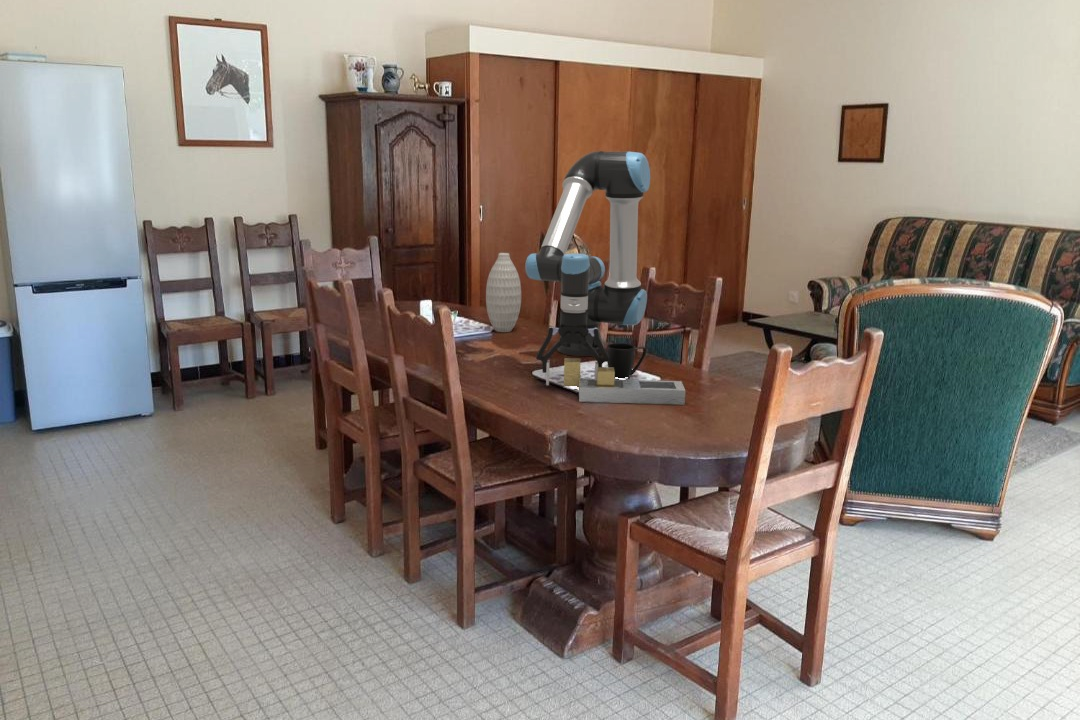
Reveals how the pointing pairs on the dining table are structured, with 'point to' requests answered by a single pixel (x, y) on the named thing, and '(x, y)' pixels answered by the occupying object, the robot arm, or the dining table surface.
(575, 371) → the yellow rectangular block
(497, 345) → the dining table surface
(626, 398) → the rail
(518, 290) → the vase
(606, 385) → the tan wooden brick
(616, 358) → the mug
